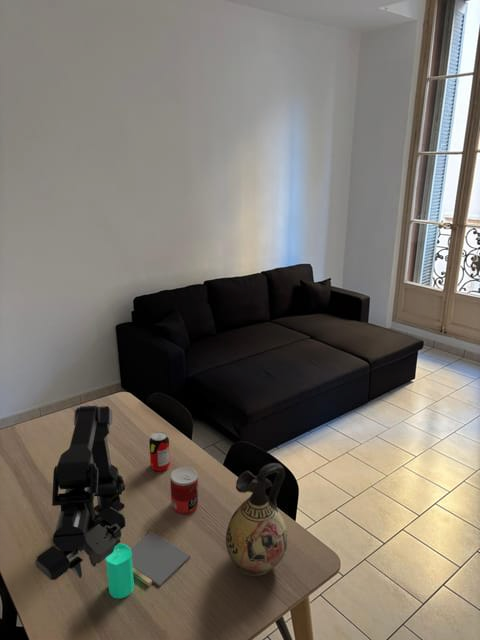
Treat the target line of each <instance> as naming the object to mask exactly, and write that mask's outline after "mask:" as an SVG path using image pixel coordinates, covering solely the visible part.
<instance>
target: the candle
mask: <svg viewBox="0 0 480 640" xmlns="http://www.w3.org/2000/svg"><path fill="white" fill-rule="evenodd" d="M105 564H106V572H107V574H106V575H107V583H108V591H109V592H108V593H109V595H110V596H111V597H112V598H115V599H124V598H126V597H128V596H129V595H130V594H132V592H133V590H134V588H135V582H134V580H135V579H134V575H133V565H132V553H131V547H130V546H129V545H127V544H125V543H121V542H120V543H118V544H117V545H116V546H115V547H114V551H113V553H112V554H110V555H109V556H107V557H106V558H105Z"/></svg>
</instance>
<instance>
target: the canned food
mask: <svg viewBox="0 0 480 640" xmlns="http://www.w3.org/2000/svg"><path fill="white" fill-rule="evenodd" d="M198 475H199V474H198V472H197V471H196V470H195V469H194V468H192V467H185V466H180V467H177V468H175V469H173V470H172V471H171V473H170V477H169V478H170V479H169V480H170V501H171V503H170V504H171V508H172V509H173V511H174V512H175V513H177V514H180V515H190V514H192V513H194V512H195V511H196V510H197V508H198V506H199V484H198V483H199V477H198Z"/></svg>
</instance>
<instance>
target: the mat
mask: <svg viewBox="0 0 480 640" xmlns="http://www.w3.org/2000/svg"><path fill="white" fill-rule="evenodd" d="M130 549H131V553H132V565H133V567H134V568H135V569H137V570H138V571H140V572H141V573H142V574H144V575H145V576H147V577H148V578H149V579H151V580H152V584H155V585H156V586H158V587H159V588H160V587H162V585H164V584H165V583H166V582H167V581H168V580H170V578H171V577H172V576H173V575H174V574H175V573H176V572H177V571H178V570H179V569H180V568H181V567H182V566H184V564H185V563H186V562H187V561H188V560H190V559H191V556H190V554H188V553H186V552H185V551H183V550H181V549H180V548H178V547H177V546H176V545H173V544H172V543H170V542H169V541H167V540H166V539H165V538H162V537H161V536H160V535H158V534H156V533H155V532H153V531H150V532H149V533H148V534H147V535H145V536H144V537H143V538H142V539H141V540H139V541H138V542H137V543H136V544H135V545H133V546H132V547H130Z"/></svg>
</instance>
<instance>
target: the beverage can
mask: <svg viewBox="0 0 480 640" xmlns="http://www.w3.org/2000/svg"><path fill="white" fill-rule="evenodd" d="M149 461H150V462H149V463H150V467H151V469H153V470H154V471H157V472H163V471H165V470H167V469H169V467H170V465H171V457H170V439H169V437H168V434H167V433H166V432H165V431H155V432H153V433H152V434H151V435H150V438H149Z"/></svg>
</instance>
